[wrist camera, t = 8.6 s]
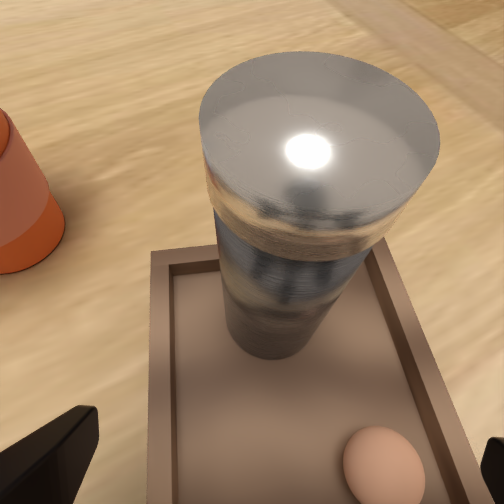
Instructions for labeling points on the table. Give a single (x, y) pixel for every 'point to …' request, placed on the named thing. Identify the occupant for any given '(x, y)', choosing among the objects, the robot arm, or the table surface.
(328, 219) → the shaker
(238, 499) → the tray
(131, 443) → the table surface
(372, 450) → the ball
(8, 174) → the cup with straw
